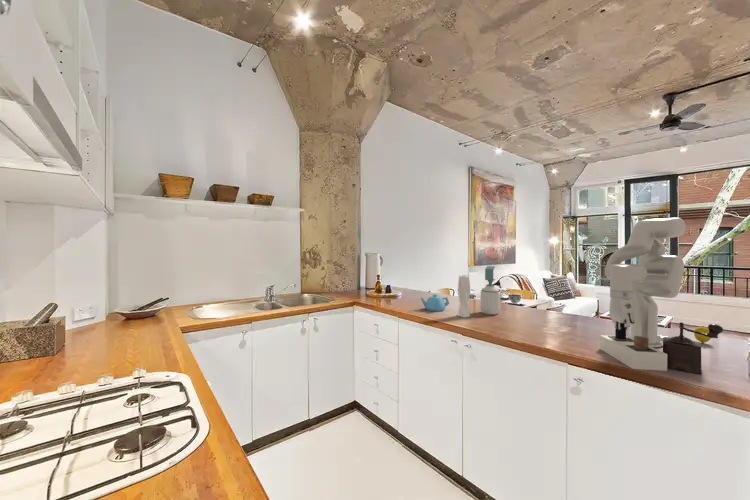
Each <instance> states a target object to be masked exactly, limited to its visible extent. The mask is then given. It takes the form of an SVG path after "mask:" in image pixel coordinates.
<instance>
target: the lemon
mask: <svg viewBox="0 0 750 500" xmlns="http://www.w3.org/2000/svg"><path fill="white" fill-rule="evenodd" d="M694 330H695V331H698V332H702V333H705V334H708V333H709V329H708V327H707V326H704V325H701V326H698V327H696V328H695V329H694ZM693 335H694V337H695V338H694V339H696V341H697V342H699V343H700V344H705V343H707V342H710V341H711V339H712V338H710V337H706V336H703V335H700V334H697V333H693Z"/></svg>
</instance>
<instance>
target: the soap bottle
mask: <svg viewBox="0 0 750 500" xmlns="http://www.w3.org/2000/svg"><path fill="white" fill-rule="evenodd" d="M495 266H496V265H495ZM495 266H493V265H487V266H486V267H485V269H484V279H485V281H487V282H488V283H487V284H486V285H485V287H483V288H482V289H481V290H480V311H481V312H482V313H483V314H485V315H489V316H494V315H495V316H496V315H498V314H499V313H500V312H501V292H500V290H499V289H498V288H497V287H496V286H495V284H493V283H494V281H495V280H496V278H494V270H495V268H496V267H495Z"/></svg>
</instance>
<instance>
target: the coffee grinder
mask: <svg viewBox="0 0 750 500" xmlns="http://www.w3.org/2000/svg"><path fill="white" fill-rule="evenodd" d="M678 325H679V326H678V328H679V335H677V336H676V335H675V336H672V337H671V336H670V337H669V336H663V337H664V338H663V341H662V352H664V353H666V354H667V369H670V370H676V371H679V372H680V371H681V372H686V373H693V374H694V373H695V374H700V375H701V374H702V373H703V370H702V345H701V344H702V343H701V342H700V341H697V340H695V341H694V340H692V339H690V338H688V337H687V336H686V337H685V336H684V330H685V331H687V332H691V333H693V334H694V333H697V334H700V335H703V336H706V337H710V338H711V339H719V334H721V333H723V332H724V328H723V327H722V326H721V325H719V324H716V323H710V324H708V325H707V328H708V329H709V333H708V334H705V333H702V332H698V331H695V329H690V328H687V327H685V323H684V322H682V321H681V322H679V324H678Z"/></svg>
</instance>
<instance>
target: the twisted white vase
mask: <svg viewBox="0 0 750 500" xmlns="http://www.w3.org/2000/svg"><path fill="white" fill-rule="evenodd" d="M470 281H471V280H470V273H469V272H468V273H467V274H462V275H460V274H459V275H458V281H457V296H458V301H459V304H458V305H459V307H458V313H457V315H455V317H457V316H458V317H457V318H462V319H467V318H472V317H473V315H470V314H471V313H470V305H469V301H470V295H471V282H470Z"/></svg>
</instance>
